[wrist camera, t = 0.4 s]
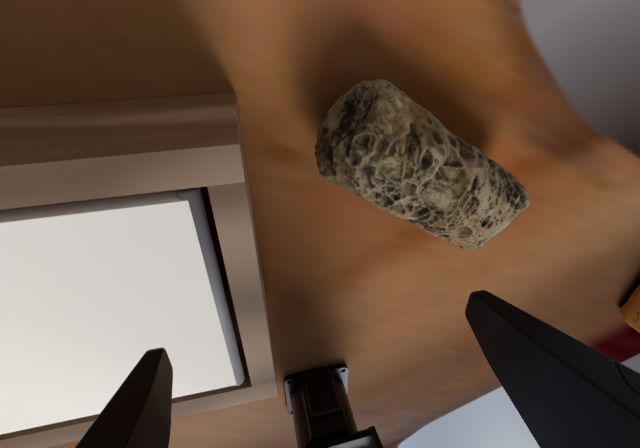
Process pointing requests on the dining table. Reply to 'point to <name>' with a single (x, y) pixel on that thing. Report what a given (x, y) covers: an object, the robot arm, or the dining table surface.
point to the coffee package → (632, 309)
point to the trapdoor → (108, 303)
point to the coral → (415, 166)
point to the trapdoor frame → (138, 178)
